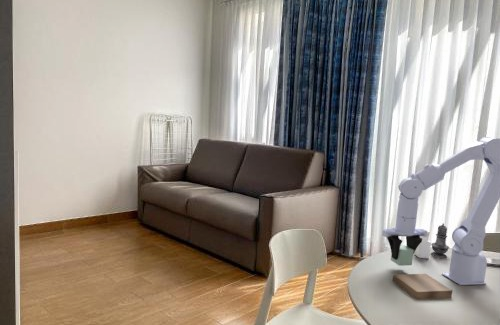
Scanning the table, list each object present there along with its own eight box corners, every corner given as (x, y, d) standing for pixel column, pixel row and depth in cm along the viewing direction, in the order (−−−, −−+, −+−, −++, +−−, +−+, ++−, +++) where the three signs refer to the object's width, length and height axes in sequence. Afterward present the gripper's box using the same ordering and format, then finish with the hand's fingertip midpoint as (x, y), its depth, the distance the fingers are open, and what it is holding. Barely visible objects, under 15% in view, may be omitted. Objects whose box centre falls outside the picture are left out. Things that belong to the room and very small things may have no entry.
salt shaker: (450, 259, 136) (454, 226, 135) (432, 256, 138) (436, 224, 136) (445, 253, 142) (449, 222, 141) (428, 251, 143) (432, 220, 142)
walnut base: (425, 280, 116) (425, 273, 116) (451, 297, 106) (452, 290, 106) (392, 281, 114) (393, 274, 114) (416, 299, 103) (417, 291, 103)
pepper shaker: (429, 259, 135) (433, 232, 134) (418, 258, 135) (421, 232, 134) (424, 255, 139) (427, 229, 138) (413, 254, 139) (416, 228, 138)
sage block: (403, 259, 125) (404, 245, 125) (411, 265, 121) (413, 249, 120) (390, 260, 124) (392, 245, 124) (399, 265, 120) (400, 250, 119)
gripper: (418, 213, 126) (413, 253, 128) (378, 213, 123) (374, 254, 125) (433, 219, 119) (428, 261, 121) (391, 219, 116) (386, 262, 118)
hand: (401, 258), depth 122 cm, fingers closed on sage block, 4 cm apart
